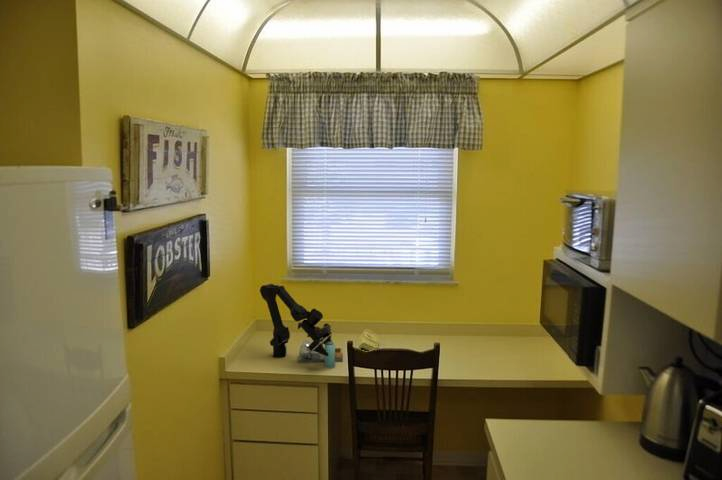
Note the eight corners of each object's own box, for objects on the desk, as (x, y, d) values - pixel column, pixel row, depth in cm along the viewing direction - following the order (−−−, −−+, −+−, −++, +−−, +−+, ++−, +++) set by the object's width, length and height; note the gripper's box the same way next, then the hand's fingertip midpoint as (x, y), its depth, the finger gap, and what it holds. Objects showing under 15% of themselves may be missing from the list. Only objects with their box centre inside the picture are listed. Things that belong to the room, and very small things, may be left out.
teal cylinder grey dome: (324, 368, 259) (324, 344, 258) (324, 364, 265) (324, 340, 263) (334, 367, 260) (334, 344, 258) (335, 364, 265) (334, 340, 263)
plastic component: (377, 348, 281) (361, 340, 281) (371, 359, 283) (355, 352, 283) (378, 334, 301) (363, 327, 301) (373, 345, 302) (357, 338, 302)
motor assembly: (298, 362, 267) (298, 346, 266) (299, 355, 278) (299, 339, 277) (342, 361, 268) (342, 346, 267) (342, 354, 279) (342, 339, 278)
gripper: (314, 324, 252) (335, 348, 250) (327, 315, 269) (348, 337, 267) (299, 339, 255) (320, 362, 253) (314, 328, 273) (333, 350, 271)
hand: (331, 352), depth 261 cm, fingers open, 9 cm apart
